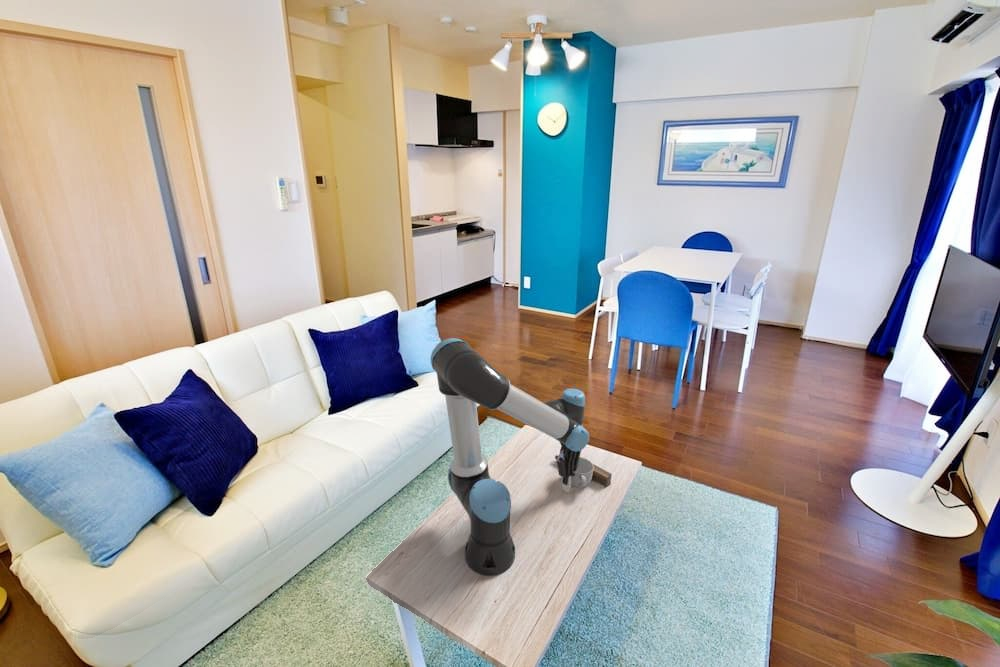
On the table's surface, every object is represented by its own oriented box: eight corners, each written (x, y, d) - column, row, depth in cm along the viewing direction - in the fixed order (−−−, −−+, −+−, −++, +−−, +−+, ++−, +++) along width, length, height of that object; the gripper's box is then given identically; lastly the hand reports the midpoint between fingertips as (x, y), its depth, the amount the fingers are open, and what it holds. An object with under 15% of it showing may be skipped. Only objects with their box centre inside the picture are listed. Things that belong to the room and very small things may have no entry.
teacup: (562, 472, 179) (564, 454, 176) (591, 474, 178) (593, 456, 175) (562, 496, 166) (564, 477, 164) (593, 499, 165) (595, 480, 162)
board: (605, 487, 171) (606, 477, 169) (559, 461, 186) (559, 451, 184) (610, 484, 173) (611, 473, 171) (563, 458, 188) (564, 448, 186)
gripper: (568, 444, 153) (563, 503, 160) (590, 430, 161) (585, 487, 169) (550, 434, 158) (546, 493, 165) (573, 422, 166) (569, 478, 174)
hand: (566, 490), depth 167 cm, fingers closed
